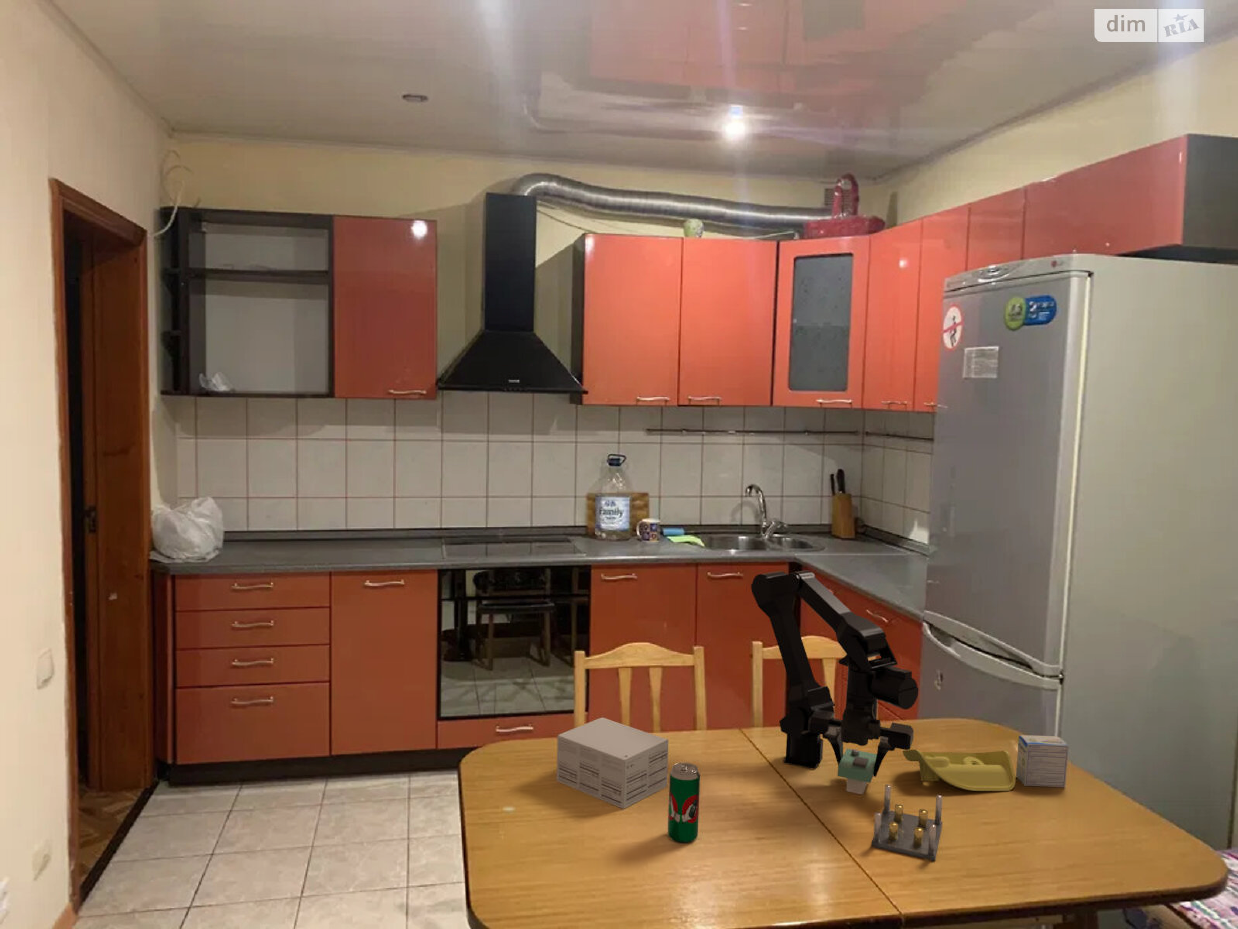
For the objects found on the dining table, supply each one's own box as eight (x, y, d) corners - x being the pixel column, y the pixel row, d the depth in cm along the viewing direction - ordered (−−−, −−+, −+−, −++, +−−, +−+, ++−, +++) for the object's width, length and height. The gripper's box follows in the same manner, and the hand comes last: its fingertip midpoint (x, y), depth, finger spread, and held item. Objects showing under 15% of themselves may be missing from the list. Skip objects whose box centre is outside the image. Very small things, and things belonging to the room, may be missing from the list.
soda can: (701, 833, 153) (703, 764, 152) (693, 847, 148) (696, 776, 147) (672, 827, 155) (674, 759, 153) (663, 841, 150) (666, 771, 149)
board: (837, 776, 169) (838, 761, 168) (846, 758, 177) (847, 744, 177) (870, 783, 166) (871, 768, 166) (877, 764, 174) (878, 750, 174)
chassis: (871, 846, 150) (873, 814, 149) (882, 813, 162) (884, 783, 161) (935, 861, 146) (937, 828, 145) (942, 825, 158) (944, 795, 157)
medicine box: (1055, 778, 178) (1058, 735, 178) (1066, 788, 174) (1069, 745, 173) (1015, 776, 179) (1018, 734, 178) (1024, 787, 174) (1027, 743, 173)
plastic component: (981, 753, 184) (1012, 750, 175) (986, 791, 182) (1018, 791, 172) (893, 751, 180) (920, 748, 171) (897, 791, 177) (925, 790, 168)
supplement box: (668, 787, 170) (670, 738, 169) (623, 811, 160) (625, 760, 159) (601, 760, 181) (602, 715, 180) (555, 781, 171) (556, 733, 170)
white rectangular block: (846, 791, 170) (847, 775, 170) (851, 780, 175) (852, 765, 175) (862, 794, 169) (863, 779, 169) (867, 783, 174) (868, 768, 174)
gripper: (803, 697, 167) (799, 779, 168) (908, 715, 159) (903, 801, 161) (816, 679, 177) (812, 757, 178) (916, 696, 169) (911, 776, 171)
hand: (857, 772), depth 172 cm, fingers closed on board, 6 cm apart
